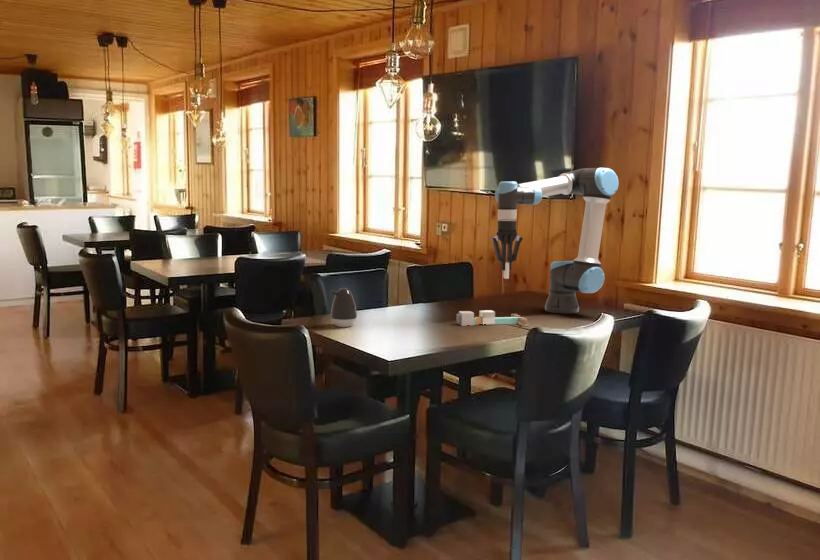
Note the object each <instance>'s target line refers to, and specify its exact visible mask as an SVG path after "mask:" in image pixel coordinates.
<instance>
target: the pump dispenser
mask: <svg viewBox="0 0 820 560" xmlns="http://www.w3.org/2000/svg"><path fill="white" fill-rule="evenodd" d="M330 294H333V295H334V298H333V301H332V304H331V309H330V319H331V322H332V323H333V325H334V326H336V327H338V328H349V326H350V327H351V326H353V325H354V324H355V322H356V320H357V317H358V314H357V306H356V303H355V302H356V301H355V299H354V297H353V294H352V292H351V290H349V289H348V288H347V287H342V288H341V287H340V288H339V289H338V291H335V290H331V291H330Z"/></svg>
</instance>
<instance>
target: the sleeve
mask: <svg viewBox="0 0 820 560" xmlns="http://www.w3.org/2000/svg"><path fill="white" fill-rule="evenodd" d="M478 317H480V318H482V324H483V326H485V325H484V324H486V325H496V324H495V317H496V311H494V310H492V309H485V310H483V309H482V310H480V309H479V314H478Z"/></svg>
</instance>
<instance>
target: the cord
mask: <svg viewBox="0 0 820 560" xmlns="http://www.w3.org/2000/svg"><path fill="white" fill-rule="evenodd" d="M517 322H518V317H511V316H504V317H503V316H501V317H500V316H498V317H497V316H495V324H494V325H518V324H517ZM456 323H458V324H459V325H460V326H461V327H463V326H465V327H466V326H467V325H470V326H480V325H479V324H482V318H480V317H479V316H475V313H474V312H473V311H471V310H460V311H459V310H458V313H456Z"/></svg>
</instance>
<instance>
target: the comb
mask: <svg viewBox="0 0 820 560" xmlns="http://www.w3.org/2000/svg"><path fill="white" fill-rule="evenodd" d="M510 317H518V322H517V324H516V325H519V326H520V327H528V326H529V325H528V319H527V318H525V317H524V316H522V317H521V315H520V314H519V315H518V313H511V314H510Z"/></svg>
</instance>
